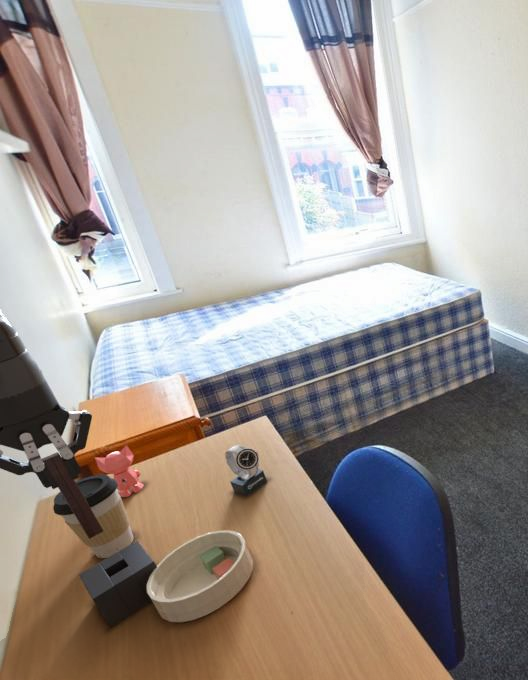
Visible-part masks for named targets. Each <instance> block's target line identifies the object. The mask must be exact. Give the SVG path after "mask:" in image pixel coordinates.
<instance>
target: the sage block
mask: <svg viewBox="0 0 528 680" xmlns="http://www.w3.org/2000/svg"><path fill="white" fill-rule="evenodd" d="M200 559H201V561H202V563H203V565H204V567H205V568H206V569H207V570H208V572H209V573H210V574H211V575H212V574H214V572H213V570H212V568H214V567H215V566H217V565H218V564H220V563H221V562H223V561H224V560H226V557H225V555H224V553H223V552H222V551H221V550H220V549H219V548H218V547H217V546H215V547H213V548H211V549H210V550H208V551H207V552H205V553H204V554H202V555H201V556H200Z"/></svg>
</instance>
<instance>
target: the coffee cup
mask: <svg viewBox="0 0 528 680" xmlns="http://www.w3.org/2000/svg"><path fill="white" fill-rule="evenodd" d="M75 482H76V484H77V486H78V487H79V489H80V491H81V492H82V494H83V496H84V498H85V499H86V501H87V503H88V505H89V506H90V508H91V510H92V512H93V513H94V515H95V517H96V519H97V520H98V522H99V524H100V525H101V527H102V529H103V532H101V533H100V534H98V535H96V536H94V537H92V538H90V539H89V538H88V537H87V535H86V533H85V532H84V530H83V528H82V527H81V525H80V523H79V522H78V520H77V518H76V516H75V515H74V513H73V511H72V510H71V508H70V506H69V505H68V503H67V501H66V500H65V498H64V496H63V495H62V493H61V491H60V490H59V492H58V493H57V494H56V495H55V497H54V499H53V507H52V509H53V512H54V514H55V515H57V516H61V517H62V519H63V520H64V523H65V524H66V525H67V526H68V527H69V529H70V530H71V531H72V532H73V533H74V534H75V535H76V537H77V538H79V540H80V541H81V542H82V543H83V544H84V545H85V546H86V547H87V548H89V550H90V551H92V553H93V554H94V555H95V556H96V557H97V558H99V559H107V558H108V557H110V556H112V555H114V554H115V553H117V552H119V551H120V550H122V549H124V548H125V547H127V546H129V545H131V544H132V543H133V542H134V535H133V532H132V528H131V526H130V520H129V517H128V515H127V514H128V513H127V511H126V509H125V505H124V503H123V500H122V497H121V496H120V495H119V490H118V489H117V487H118V483H117V481H116V480H114V477H113V478H112V477H110V476H109V475H108V474H95V475H90V476H87V477H84V478H82V479H79V480H77V481H75Z"/></svg>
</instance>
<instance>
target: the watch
mask: <svg viewBox="0 0 528 680" xmlns="http://www.w3.org/2000/svg"><path fill="white" fill-rule="evenodd" d="M224 457H225V460H226V464H227V465H228V467H229V469H230V470H231V472H233V474H234V475H237V476H236V477H234V478H232V479H231V480H230V481H229V482H230V485H231V487H232V490H233V493H236V494H239V495H242V496H244V497H248V496H249V495H251V494H252V493H253V492H254V491H256V490H257V489H259V488H260V487H261V486H262V485H264V484H265V483H267V482H268V480H267V477H266V474H265V472H264V470H263V469H260V468H259V466H260V463H259V461H260V458H259V457H260V456H259V452H258V451H257V450H254V449H253V448H249V447H247V446H246V445H244V446H243V445H240V444H236V445H233V446H232V447H230V448H229V449H228V450H225V452H224Z"/></svg>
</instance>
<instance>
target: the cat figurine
mask: <svg viewBox="0 0 528 680" xmlns="http://www.w3.org/2000/svg"><path fill="white" fill-rule="evenodd" d="M94 459H95V462H96V465H97V467H98V470H99V471H100V472H101V473H105V474H107V475H108V474H109V475H113V479H114V480H116V481H117V483H118V487H117V491H118V494H119V495H120V496H121V498H128V497H129V496H131V494H132V492H134V493H138V492H140V491H141V490H143V487H144V486H145V484H143V483H141V482H140V479H139V478H140V476H141V472H140V471H139V470H137V469H135V470H132V469H131V468H130V467H131V465H132V463H133V461H134V453H133V452H132V451H131V449H130V448H129V446H128V445H127V444H126V445H124V447H123V448H122V449H121V450H120V451H112V452H110V453H109V454H107V455H106V457H99V456H98V457H95V456H94ZM132 488H133V491H132V492H131V491H129V490H130V489H132Z"/></svg>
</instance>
